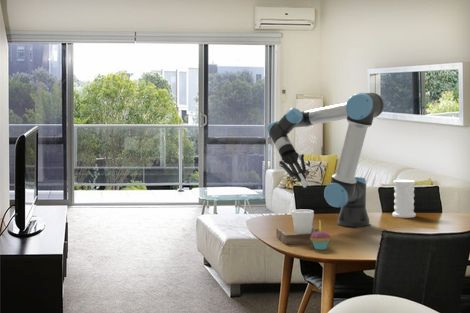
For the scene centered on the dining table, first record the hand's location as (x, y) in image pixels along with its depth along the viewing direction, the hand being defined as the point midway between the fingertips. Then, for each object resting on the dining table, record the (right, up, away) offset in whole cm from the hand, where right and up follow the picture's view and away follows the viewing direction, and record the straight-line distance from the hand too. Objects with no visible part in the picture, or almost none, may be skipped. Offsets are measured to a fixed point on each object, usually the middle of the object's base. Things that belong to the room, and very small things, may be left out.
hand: (305, 185), depth 344 cm
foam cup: (-3, -23, -23) cm, 33 cm away
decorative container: (+54, -17, +36) cm, 67 cm away
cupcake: (+3, -25, -39) cm, 46 cm away
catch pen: (-4, -23, -21) cm, 31 cm away
